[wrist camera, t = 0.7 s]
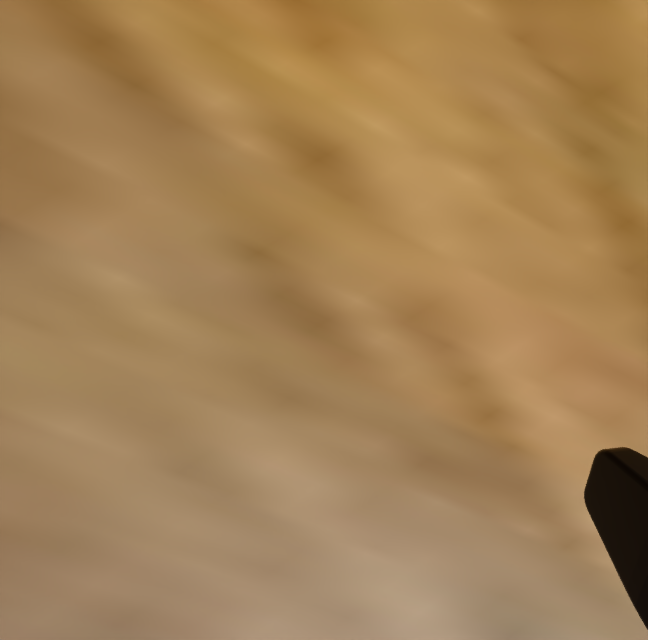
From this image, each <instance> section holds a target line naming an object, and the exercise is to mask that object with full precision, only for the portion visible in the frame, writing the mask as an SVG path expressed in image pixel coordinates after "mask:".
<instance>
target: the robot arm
mask: <svg viewBox="0 0 648 640" xmlns="http://www.w3.org/2000/svg"><path fill="white" fill-rule="evenodd" d="M584 499H585V504H586V507H587V510H588V512H589V514H590V516H591V518H592V520H593V522H594V524H595V527H596V529H597V531H598V533H599V535H600V537H601V539H602V541H603V543H604V545H605V547H606V550H607V552H608V554H609V556H610V558H611V560H612V562H613V564H614V566H615V568H616V571H617V573H618V575H619V577H620V579H621V581H622V583H623V585H624V587H625V589H626V591H627V593H628V595H629V597H630V599H631V601H632V603H633V605H634V607H635V609H636V610H637V612H638V614H639V616H640V618H641V619H642V621H643V623H644V625H645V626H646V628H647V630H648V457H646V456H644V455H642V454H640V453H638V452H636V451H634V450H632V449H630V448H626V447H620V448H611V449H603V450H600V451H599V452H598V453H597V454H596V455H595V458H594V461H593V464H592V467H591V471H590V474H589V477H588V480H587V484H586V487H585V491H584Z"/></svg>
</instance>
